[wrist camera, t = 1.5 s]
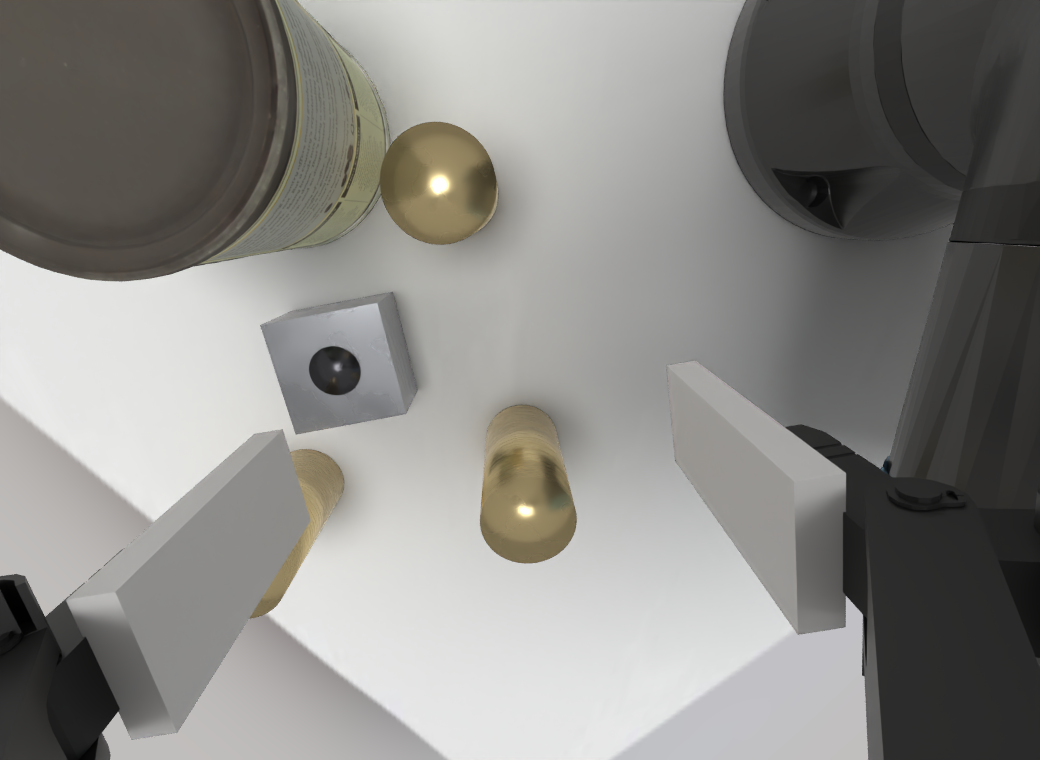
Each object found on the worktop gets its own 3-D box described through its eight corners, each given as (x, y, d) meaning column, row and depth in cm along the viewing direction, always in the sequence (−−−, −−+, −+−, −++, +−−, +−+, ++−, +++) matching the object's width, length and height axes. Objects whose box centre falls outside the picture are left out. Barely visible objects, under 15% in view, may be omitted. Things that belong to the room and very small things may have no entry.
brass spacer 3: (550, 399, 31) (569, 470, 22) (561, 464, 32) (582, 555, 24) (480, 411, 31) (471, 486, 23) (493, 475, 32) (489, 569, 24)
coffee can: (224, 271, 29) (-24, 321, 15) (140, 50, 26) (-262, -133, 12) (418, 224, 28) (341, 231, 15) (355, -5, 25) (187, -259, 12)
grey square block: (393, 291, 29) (376, 303, 25) (418, 389, 31) (405, 414, 27) (291, 310, 29) (259, 325, 26) (321, 407, 31) (295, 435, 27)
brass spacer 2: (490, 145, 27) (484, 112, 19) (504, 228, 28) (505, 234, 20) (410, 159, 27) (367, 132, 19) (427, 241, 28) (394, 253, 20)
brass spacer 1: (333, 444, 31) (270, 530, 23) (351, 506, 33) (296, 611, 24) (264, 455, 32) (174, 545, 23) (284, 517, 33) (206, 625, 24)
